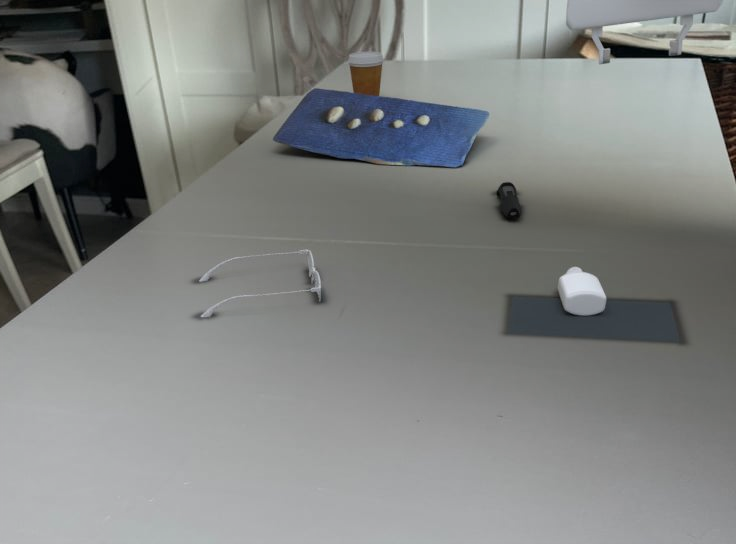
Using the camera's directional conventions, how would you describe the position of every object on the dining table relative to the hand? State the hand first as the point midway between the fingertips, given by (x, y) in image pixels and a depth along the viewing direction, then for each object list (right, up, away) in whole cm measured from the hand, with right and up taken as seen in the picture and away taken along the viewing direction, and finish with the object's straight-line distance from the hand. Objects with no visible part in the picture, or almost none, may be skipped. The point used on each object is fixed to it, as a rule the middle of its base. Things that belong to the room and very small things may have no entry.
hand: (639, 59), depth 113 cm
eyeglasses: (-55, -31, +10) cm, 63 cm away
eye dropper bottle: (-8, -35, -3) cm, 36 cm away
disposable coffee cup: (-36, +46, +104) cm, 120 cm away
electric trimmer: (-11, -8, +36) cm, 38 cm away
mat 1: (-33, +20, +72) cm, 82 cm away
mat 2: (-7, -37, -2) cm, 38 cm away
